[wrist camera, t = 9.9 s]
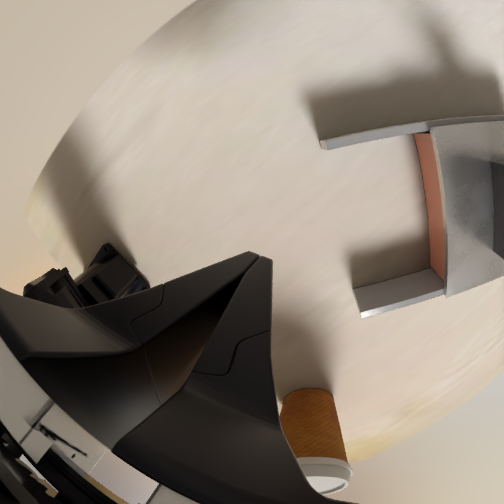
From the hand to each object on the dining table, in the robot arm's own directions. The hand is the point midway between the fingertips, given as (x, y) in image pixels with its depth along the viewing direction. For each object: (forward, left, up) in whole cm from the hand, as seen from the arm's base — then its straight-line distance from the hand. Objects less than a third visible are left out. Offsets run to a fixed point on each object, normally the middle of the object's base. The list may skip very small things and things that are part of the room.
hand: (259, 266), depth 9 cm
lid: (+14, -11, -9) cm, 20 cm away
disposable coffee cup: (-13, -22, -13) cm, 28 cm away
